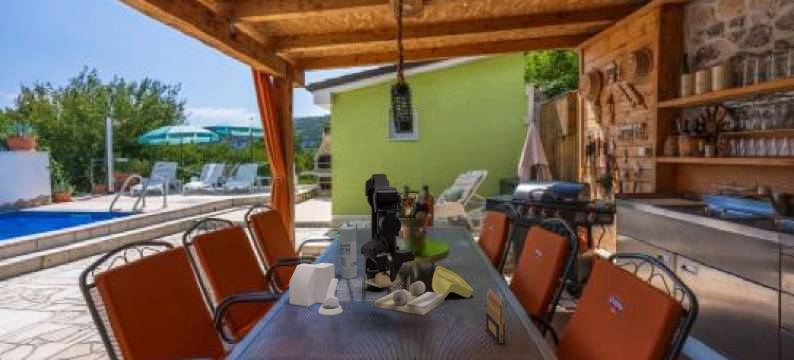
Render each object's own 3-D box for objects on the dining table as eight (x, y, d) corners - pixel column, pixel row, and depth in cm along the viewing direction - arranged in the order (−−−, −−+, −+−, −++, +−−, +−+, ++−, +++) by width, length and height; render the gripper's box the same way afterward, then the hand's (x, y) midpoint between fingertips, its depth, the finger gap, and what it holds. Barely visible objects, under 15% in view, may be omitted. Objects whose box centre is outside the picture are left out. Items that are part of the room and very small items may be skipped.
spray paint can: (360, 276, 201) (359, 227, 200) (350, 279, 195) (348, 229, 194) (347, 274, 204) (346, 226, 203) (337, 277, 199) (336, 228, 198)
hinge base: (373, 306, 161) (373, 288, 161) (397, 294, 175) (397, 277, 175) (423, 314, 153) (423, 296, 152) (444, 300, 167) (444, 283, 166)
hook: (349, 288, 165) (349, 281, 159) (340, 323, 159) (340, 317, 153) (327, 283, 165) (326, 276, 159) (317, 318, 159) (316, 312, 153)
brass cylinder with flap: (384, 289, 148) (384, 274, 147) (365, 282, 154) (364, 269, 154) (399, 285, 152) (399, 270, 151) (379, 279, 158) (379, 265, 158)
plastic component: (475, 291, 169) (450, 281, 167) (465, 311, 170) (440, 300, 167) (457, 273, 189) (434, 263, 186) (448, 290, 189) (426, 281, 187)
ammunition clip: (485, 329, 140) (485, 287, 139) (492, 329, 140) (492, 287, 139) (498, 344, 129) (498, 299, 128) (505, 343, 129) (505, 298, 129)
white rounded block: (335, 298, 171) (334, 263, 171) (316, 307, 161) (315, 271, 161) (309, 294, 176) (308, 261, 175) (289, 303, 166) (288, 268, 165)
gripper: (346, 229, 151) (347, 279, 152) (387, 237, 138) (388, 292, 139) (374, 225, 159) (375, 273, 160) (415, 232, 145) (416, 284, 146)
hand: (387, 280), depth 151 cm, fingers closed on brass cylinder with flap, 4 cm apart
